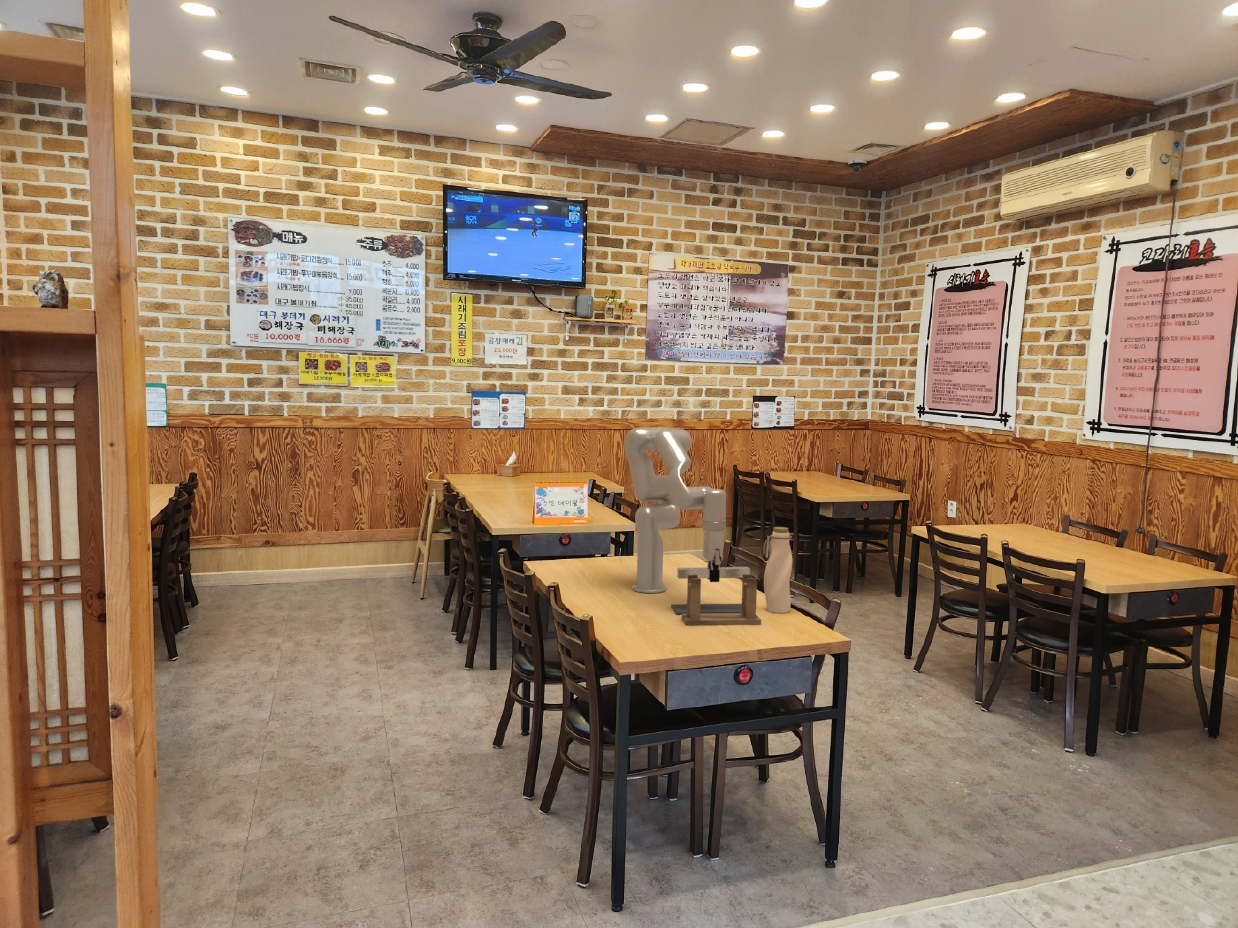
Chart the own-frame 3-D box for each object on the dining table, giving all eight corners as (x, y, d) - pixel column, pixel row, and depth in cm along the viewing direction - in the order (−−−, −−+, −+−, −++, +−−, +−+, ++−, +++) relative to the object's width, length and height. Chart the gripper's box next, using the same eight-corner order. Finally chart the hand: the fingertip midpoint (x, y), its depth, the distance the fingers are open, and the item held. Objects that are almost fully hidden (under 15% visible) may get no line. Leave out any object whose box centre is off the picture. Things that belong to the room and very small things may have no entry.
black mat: (671, 606, 270) (671, 604, 269) (745, 605, 272) (745, 603, 272) (676, 614, 260) (676, 612, 260) (753, 613, 262) (753, 611, 262)
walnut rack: (681, 618, 256) (682, 574, 254) (754, 617, 258) (755, 573, 257) (686, 625, 248) (687, 579, 247) (760, 624, 250) (762, 579, 249)
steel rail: (677, 576, 265) (677, 567, 265) (747, 575, 267) (747, 566, 267) (678, 578, 262) (679, 569, 262) (749, 577, 264) (749, 568, 264)
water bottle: (768, 614, 262) (771, 531, 259) (756, 607, 270) (759, 526, 268) (796, 612, 264) (799, 530, 262) (784, 605, 273) (786, 525, 270)
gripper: (698, 522, 271) (697, 575, 273) (708, 530, 255) (707, 586, 256) (719, 522, 272) (718, 575, 273) (731, 530, 256) (730, 586, 257)
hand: (713, 580), depth 265 cm, fingers closed on steel rail, 3 cm apart
